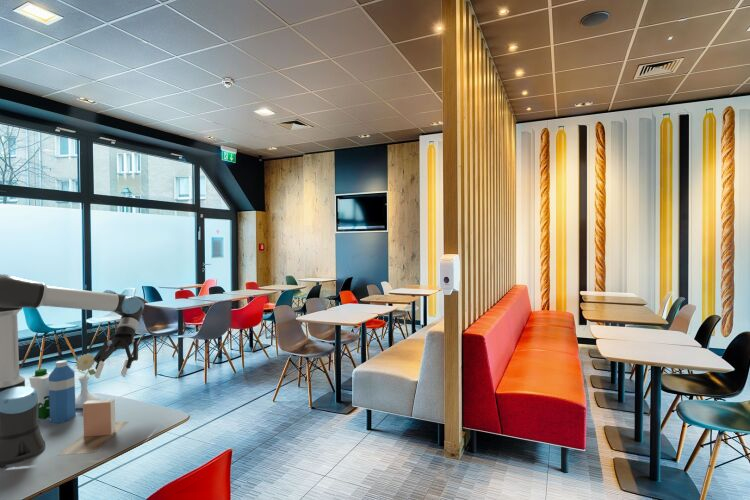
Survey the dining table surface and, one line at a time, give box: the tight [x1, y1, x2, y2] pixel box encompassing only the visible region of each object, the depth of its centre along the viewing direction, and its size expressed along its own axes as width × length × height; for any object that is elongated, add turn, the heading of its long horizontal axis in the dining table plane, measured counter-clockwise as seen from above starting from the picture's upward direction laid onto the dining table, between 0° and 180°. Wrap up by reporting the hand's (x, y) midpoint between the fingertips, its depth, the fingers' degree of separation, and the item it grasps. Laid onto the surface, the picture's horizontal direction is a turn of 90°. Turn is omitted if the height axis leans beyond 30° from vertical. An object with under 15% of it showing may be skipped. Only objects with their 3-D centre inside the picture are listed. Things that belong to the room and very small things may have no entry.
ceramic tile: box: [82, 398, 116, 437], centre depth 158 cm, size 3×10×13 cm, turn 99°
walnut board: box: [58, 421, 129, 456], centre depth 156 cm, size 12×25×1 cm, turn 7°
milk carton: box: [28, 368, 52, 420], centre depth 178 cm, size 9×9×20 cm
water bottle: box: [49, 359, 77, 424], centre depth 174 cm, size 9×9×25 cm
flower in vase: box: [75, 353, 100, 410], centre depth 187 cm, size 13×11×25 cm
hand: (109, 376), depth 167 cm, fingers open, 9 cm apart
